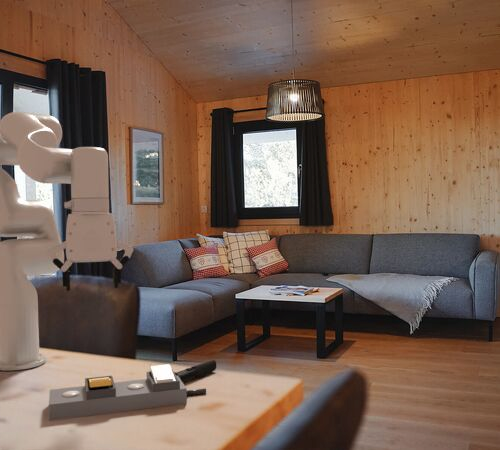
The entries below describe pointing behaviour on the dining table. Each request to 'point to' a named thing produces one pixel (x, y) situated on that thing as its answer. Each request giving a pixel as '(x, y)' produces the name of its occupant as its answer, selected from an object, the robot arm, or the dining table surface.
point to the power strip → (116, 397)
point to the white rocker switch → (162, 373)
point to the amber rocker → (100, 382)
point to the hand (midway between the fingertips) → (92, 288)
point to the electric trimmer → (196, 371)
